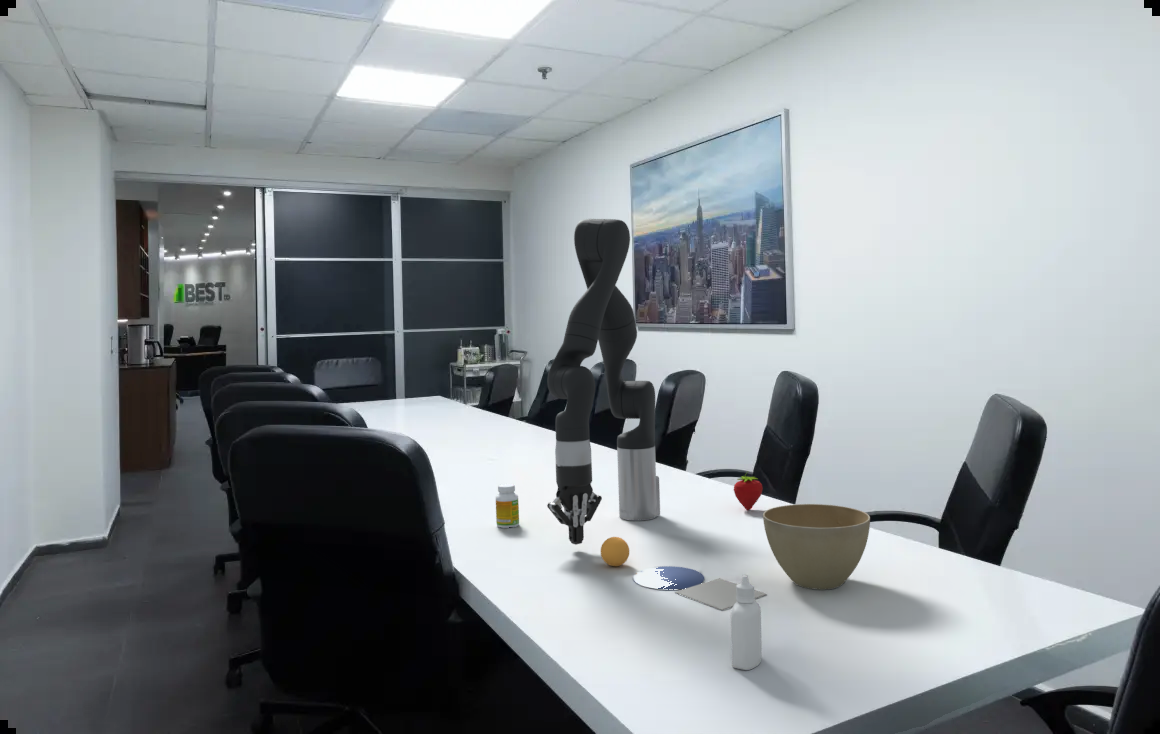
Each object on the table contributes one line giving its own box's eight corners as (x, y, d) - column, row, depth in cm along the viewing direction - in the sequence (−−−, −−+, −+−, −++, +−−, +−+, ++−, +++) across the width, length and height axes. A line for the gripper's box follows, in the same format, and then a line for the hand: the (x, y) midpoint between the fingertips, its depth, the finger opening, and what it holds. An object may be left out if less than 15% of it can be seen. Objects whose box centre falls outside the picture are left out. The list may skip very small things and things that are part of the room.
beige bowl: (869, 570, 141) (868, 505, 141) (872, 604, 124) (871, 530, 124) (769, 563, 147) (768, 501, 147) (759, 595, 130) (757, 524, 130)
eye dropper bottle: (720, 661, 105) (718, 575, 105) (753, 652, 108) (751, 568, 107) (740, 673, 101) (738, 584, 101) (773, 664, 104) (772, 576, 103)
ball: (627, 568, 151) (612, 545, 154) (639, 551, 148) (624, 528, 151) (605, 575, 147) (591, 551, 150) (617, 557, 144) (602, 533, 147)
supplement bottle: (515, 528, 180) (514, 487, 179) (493, 528, 181) (492, 487, 180) (521, 523, 185) (520, 483, 185) (500, 522, 186) (499, 482, 186)
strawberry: (768, 510, 189) (767, 470, 188) (742, 514, 186) (741, 473, 186) (754, 505, 194) (753, 466, 194) (729, 509, 192) (728, 469, 191)
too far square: (719, 579, 139) (719, 578, 139) (767, 594, 130) (767, 593, 130) (674, 593, 133) (674, 591, 133) (721, 610, 124) (721, 609, 124)
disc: (670, 563, 150) (670, 562, 150) (719, 579, 139) (719, 578, 139) (618, 577, 142) (618, 576, 142) (666, 595, 132) (666, 594, 132)
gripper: (588, 455, 166) (590, 534, 167) (537, 463, 159) (540, 545, 159) (609, 459, 160) (612, 541, 161) (557, 467, 153) (560, 553, 153)
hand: (576, 543), depth 160 cm, fingers closed
